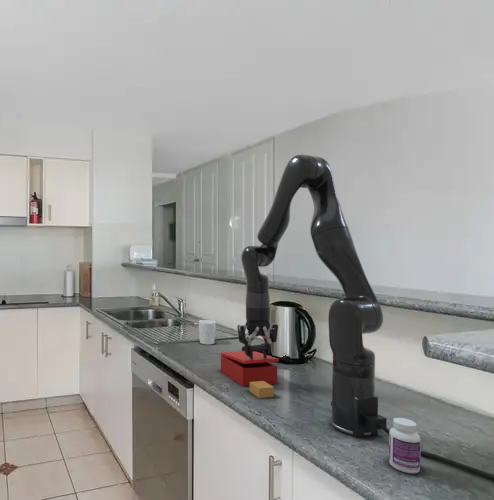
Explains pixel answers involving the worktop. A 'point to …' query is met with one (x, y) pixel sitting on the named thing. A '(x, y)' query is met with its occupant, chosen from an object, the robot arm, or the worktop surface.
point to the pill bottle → (404, 446)
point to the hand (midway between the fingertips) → (257, 355)
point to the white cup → (207, 331)
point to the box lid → (255, 356)
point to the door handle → (285, 358)
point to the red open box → (249, 371)
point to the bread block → (261, 389)
